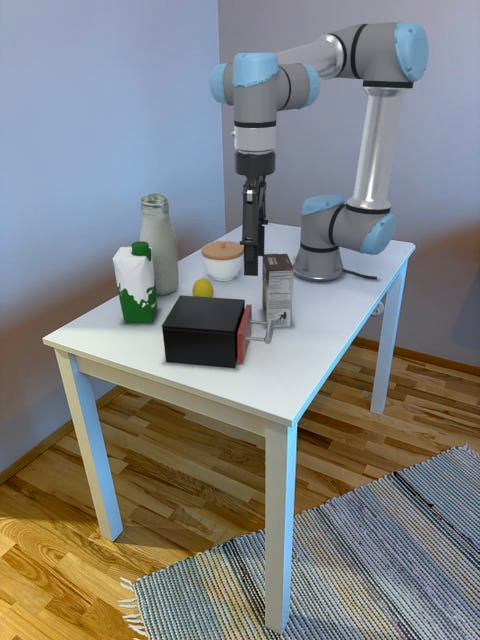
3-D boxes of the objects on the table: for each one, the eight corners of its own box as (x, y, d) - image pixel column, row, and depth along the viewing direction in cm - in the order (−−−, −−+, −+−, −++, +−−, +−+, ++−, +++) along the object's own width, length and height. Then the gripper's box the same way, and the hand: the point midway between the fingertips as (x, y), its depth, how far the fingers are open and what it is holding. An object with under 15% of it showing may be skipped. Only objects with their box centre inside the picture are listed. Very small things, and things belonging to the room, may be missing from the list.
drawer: (275, 334, 111) (276, 306, 107) (269, 366, 100) (270, 335, 96) (193, 328, 114) (191, 300, 110) (178, 358, 103) (175, 328, 99)
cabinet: (245, 334, 113) (244, 299, 108) (235, 368, 101) (234, 331, 96) (183, 329, 115) (179, 295, 110) (165, 362, 103) (161, 325, 98)
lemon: (211, 310, 123) (209, 283, 119) (191, 308, 124) (189, 281, 120) (216, 300, 128) (215, 274, 124) (196, 299, 129) (195, 272, 125)
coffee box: (261, 310, 123) (261, 253, 115) (285, 309, 123) (287, 252, 115) (265, 328, 115) (266, 268, 107) (291, 326, 115) (294, 267, 107)
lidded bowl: (214, 265, 149) (213, 232, 143) (250, 271, 144) (250, 238, 138) (195, 280, 139) (192, 246, 133) (233, 288, 134) (232, 252, 129)
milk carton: (155, 325, 117) (145, 251, 107) (119, 325, 117) (107, 251, 107) (161, 308, 124) (153, 237, 114) (128, 308, 125) (116, 237, 115)
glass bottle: (144, 301, 128) (131, 200, 114) (147, 285, 137) (135, 189, 123) (180, 299, 129) (171, 199, 115) (181, 283, 138) (173, 188, 123)
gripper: (244, 139, 94) (244, 244, 105) (222, 163, 75) (226, 287, 87) (281, 140, 93) (277, 246, 104) (268, 164, 74) (266, 289, 85)
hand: (254, 264), depth 95 cm, fingers open, 9 cm apart
